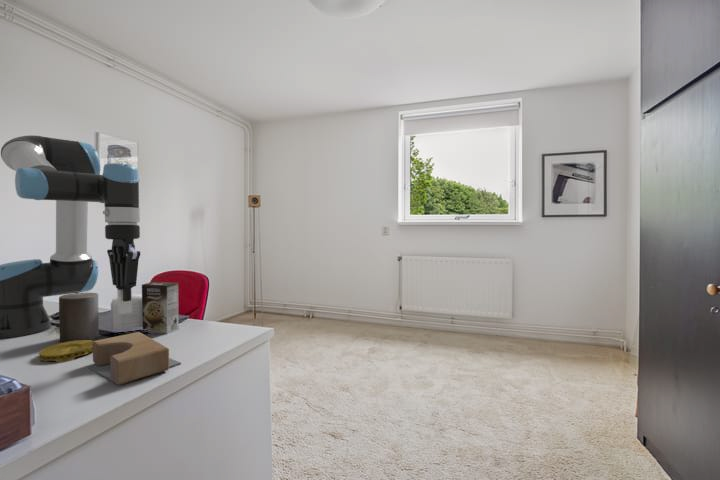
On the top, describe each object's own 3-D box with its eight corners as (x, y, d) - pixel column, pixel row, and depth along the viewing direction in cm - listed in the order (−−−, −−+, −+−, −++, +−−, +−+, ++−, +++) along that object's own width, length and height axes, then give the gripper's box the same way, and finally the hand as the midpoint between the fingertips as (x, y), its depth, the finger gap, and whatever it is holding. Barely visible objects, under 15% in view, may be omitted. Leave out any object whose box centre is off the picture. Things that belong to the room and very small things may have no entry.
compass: (27, 361, 91) (26, 353, 91) (72, 346, 103) (72, 338, 103) (65, 365, 89) (64, 357, 89) (106, 348, 101) (106, 341, 101)
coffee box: (141, 333, 114) (140, 284, 114) (155, 327, 121) (154, 281, 120) (167, 334, 113) (166, 285, 112) (179, 328, 120) (178, 281, 119)
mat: (88, 367, 87) (88, 366, 87) (147, 350, 99) (147, 349, 99) (120, 385, 78) (120, 383, 78) (180, 364, 89) (180, 362, 89)
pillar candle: (54, 345, 102) (53, 295, 102) (66, 335, 111) (65, 289, 111) (94, 341, 106) (93, 293, 106) (103, 332, 115) (102, 287, 115)
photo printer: (147, 327, 121) (146, 292, 120) (148, 330, 117) (147, 294, 117) (111, 332, 115) (110, 295, 115) (110, 335, 112) (109, 297, 111)
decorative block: (92, 362, 89) (116, 385, 76) (91, 340, 89) (116, 360, 76) (140, 351, 98) (169, 370, 85) (140, 331, 98) (169, 347, 85)
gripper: (95, 223, 91) (97, 312, 92) (118, 224, 84) (120, 319, 85) (126, 223, 98) (128, 306, 99) (150, 224, 91) (152, 313, 92)
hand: (125, 312), depth 92 cm, fingers closed
